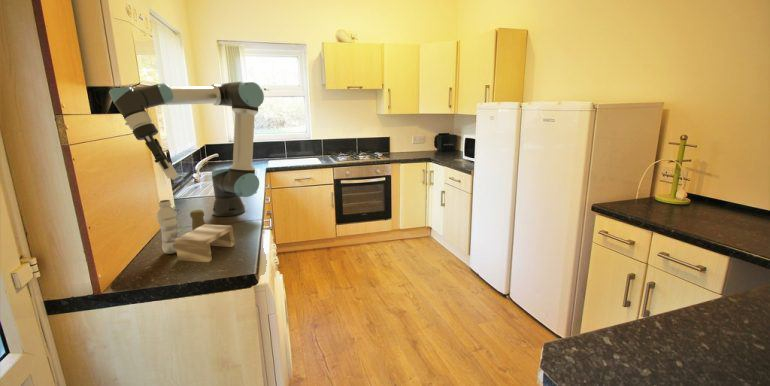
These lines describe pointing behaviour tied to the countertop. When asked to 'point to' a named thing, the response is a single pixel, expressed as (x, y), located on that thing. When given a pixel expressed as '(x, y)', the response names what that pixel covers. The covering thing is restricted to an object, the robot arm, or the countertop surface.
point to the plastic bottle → (168, 226)
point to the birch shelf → (203, 242)
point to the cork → (197, 218)
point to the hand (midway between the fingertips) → (173, 177)
